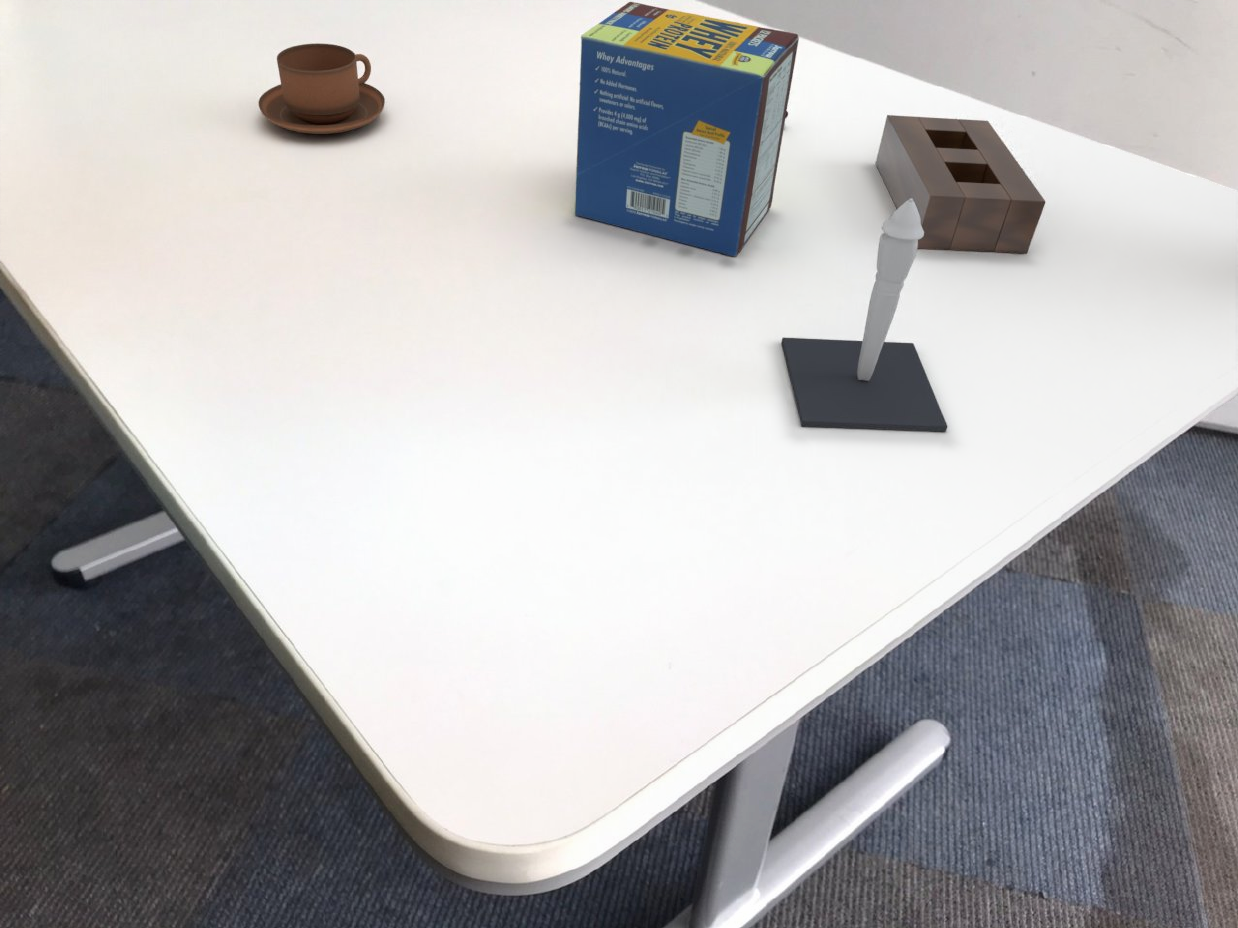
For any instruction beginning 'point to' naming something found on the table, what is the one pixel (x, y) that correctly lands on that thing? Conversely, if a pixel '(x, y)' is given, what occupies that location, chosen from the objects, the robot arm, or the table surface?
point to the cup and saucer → (321, 91)
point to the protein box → (681, 124)
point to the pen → (889, 281)
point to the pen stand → (959, 184)
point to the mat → (860, 387)
